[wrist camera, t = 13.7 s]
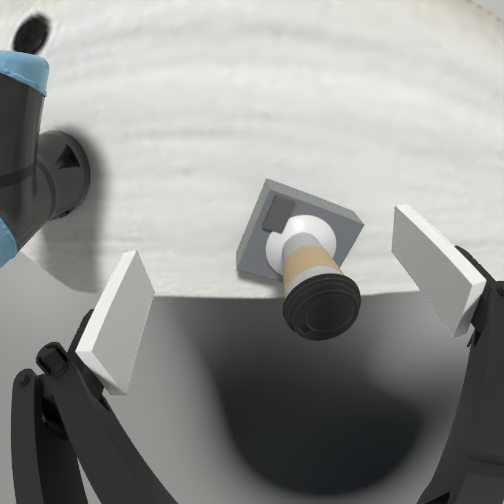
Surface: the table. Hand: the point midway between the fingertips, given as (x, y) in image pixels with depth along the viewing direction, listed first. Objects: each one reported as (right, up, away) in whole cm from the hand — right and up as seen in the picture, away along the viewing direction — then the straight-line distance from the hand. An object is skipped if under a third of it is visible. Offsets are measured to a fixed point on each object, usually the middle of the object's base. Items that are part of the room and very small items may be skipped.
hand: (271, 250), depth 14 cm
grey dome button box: (+6, +3, +36) cm, 36 cm away
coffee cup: (+7, 0, +31) cm, 32 cm away
